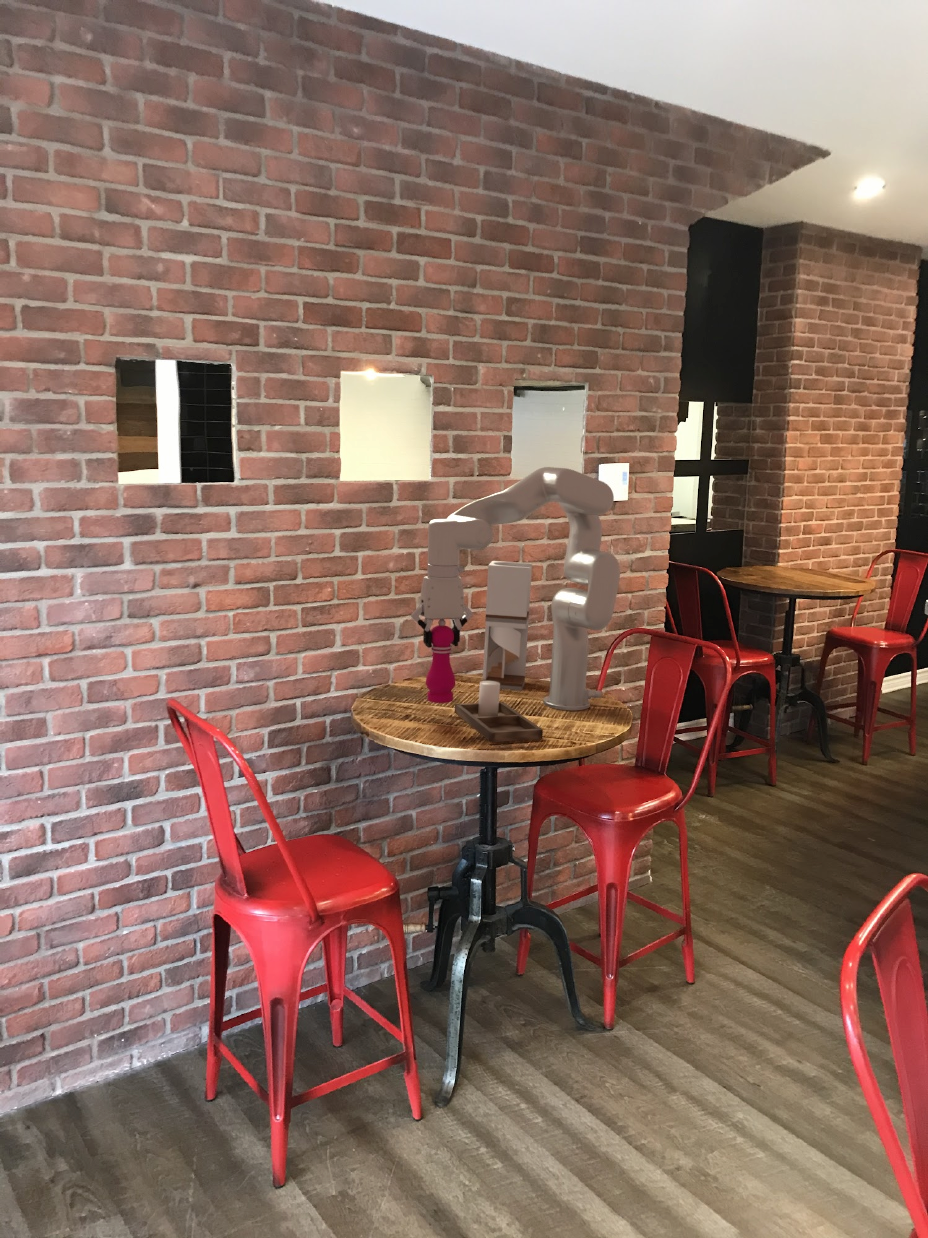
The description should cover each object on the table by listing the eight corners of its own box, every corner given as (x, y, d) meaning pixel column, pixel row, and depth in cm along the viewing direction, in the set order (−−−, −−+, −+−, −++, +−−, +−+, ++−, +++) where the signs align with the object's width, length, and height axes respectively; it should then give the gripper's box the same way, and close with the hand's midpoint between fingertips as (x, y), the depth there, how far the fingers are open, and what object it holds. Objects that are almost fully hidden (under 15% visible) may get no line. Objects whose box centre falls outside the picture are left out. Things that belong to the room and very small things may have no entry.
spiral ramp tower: (481, 687, 278) (488, 565, 272) (486, 679, 289) (492, 560, 283) (521, 690, 277) (529, 567, 271) (524, 682, 287) (532, 563, 281)
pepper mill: (444, 705, 234) (446, 623, 230) (419, 700, 238) (420, 619, 234) (460, 699, 240) (462, 618, 236) (436, 694, 244) (437, 615, 240)
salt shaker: (493, 715, 248) (495, 680, 246) (500, 720, 243) (503, 685, 242) (475, 716, 246) (476, 681, 245) (482, 721, 242) (484, 686, 240)
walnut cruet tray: (502, 713, 253) (502, 701, 253) (542, 742, 230) (542, 729, 230) (454, 715, 249) (455, 704, 248) (490, 745, 226) (491, 732, 225)
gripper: (471, 568, 239) (469, 640, 242) (403, 570, 233) (402, 644, 237) (482, 573, 232) (480, 647, 236) (412, 574, 226) (411, 651, 230)
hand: (441, 645), depth 236 cm, fingers closed on pepper mill, 6 cm apart
